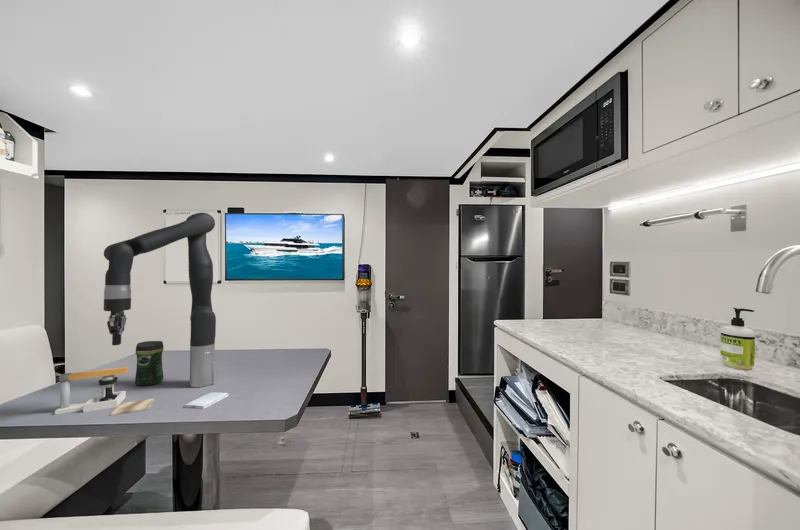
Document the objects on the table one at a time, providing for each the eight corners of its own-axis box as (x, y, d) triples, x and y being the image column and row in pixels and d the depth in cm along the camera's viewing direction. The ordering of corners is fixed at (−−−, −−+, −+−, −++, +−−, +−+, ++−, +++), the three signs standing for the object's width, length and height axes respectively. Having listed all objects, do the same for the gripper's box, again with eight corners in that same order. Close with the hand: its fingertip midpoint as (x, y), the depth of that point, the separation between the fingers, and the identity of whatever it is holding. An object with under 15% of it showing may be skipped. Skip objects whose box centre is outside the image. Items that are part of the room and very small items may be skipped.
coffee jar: (166, 379, 145) (167, 339, 146) (154, 385, 137) (155, 342, 138) (144, 380, 145) (145, 339, 145) (131, 386, 137) (131, 343, 137)
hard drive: (210, 392, 126) (183, 404, 114) (228, 392, 124) (203, 405, 112) (210, 396, 126) (183, 409, 114) (228, 397, 124) (203, 410, 112)
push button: (101, 408, 114) (102, 380, 114) (89, 407, 115) (90, 379, 115) (120, 401, 120) (121, 374, 121) (109, 400, 121) (109, 374, 122)
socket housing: (125, 397, 124) (126, 370, 125) (116, 407, 115) (117, 378, 115) (66, 406, 116) (66, 377, 117) (51, 417, 107) (51, 386, 107)
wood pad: (153, 400, 121) (153, 398, 121) (147, 409, 112) (147, 407, 112) (119, 405, 116) (119, 403, 116) (110, 415, 107) (110, 413, 107)
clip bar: (57, 382, 111) (57, 376, 111) (61, 379, 113) (61, 373, 113) (125, 373, 119) (125, 368, 119) (128, 371, 122) (128, 366, 122)
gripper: (125, 297, 112) (124, 347, 112) (135, 296, 124) (134, 340, 123) (97, 298, 109) (96, 349, 108) (110, 296, 120) (109, 342, 120)
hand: (116, 344), depth 116 cm, fingers closed
